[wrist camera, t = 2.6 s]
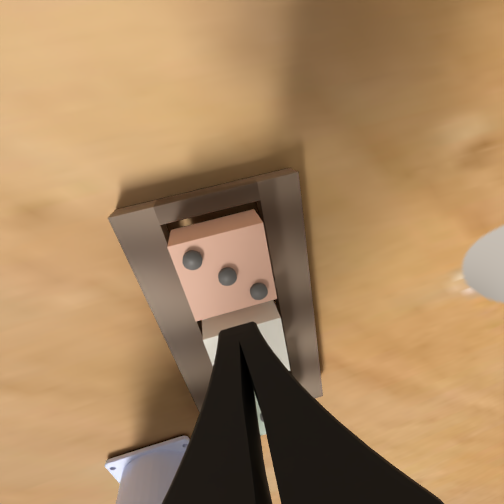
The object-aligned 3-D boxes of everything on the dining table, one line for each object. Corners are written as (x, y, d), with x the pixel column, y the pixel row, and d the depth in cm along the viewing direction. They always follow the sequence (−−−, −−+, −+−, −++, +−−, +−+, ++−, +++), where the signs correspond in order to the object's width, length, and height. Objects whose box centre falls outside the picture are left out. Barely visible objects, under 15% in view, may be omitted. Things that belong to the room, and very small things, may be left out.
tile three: (267, 278, 18) (278, 301, 16) (195, 298, 18) (195, 325, 15) (254, 209, 16) (264, 224, 14) (171, 229, 16) (166, 249, 13)
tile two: (280, 345, 21) (291, 374, 19) (219, 364, 21) (222, 395, 18) (271, 295, 19) (282, 320, 17) (201, 315, 19) (202, 343, 16)
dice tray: (316, 381, 27) (322, 395, 25) (208, 415, 26) (208, 432, 24) (289, 167, 17) (298, 172, 16) (115, 209, 16) (107, 218, 15)
